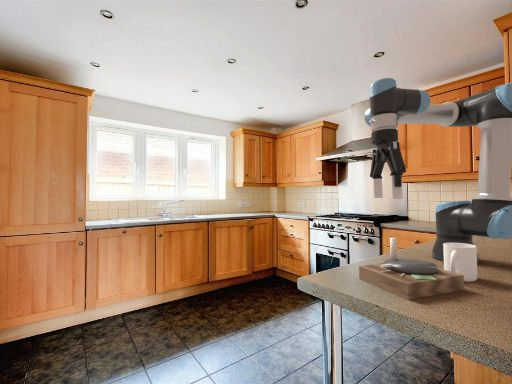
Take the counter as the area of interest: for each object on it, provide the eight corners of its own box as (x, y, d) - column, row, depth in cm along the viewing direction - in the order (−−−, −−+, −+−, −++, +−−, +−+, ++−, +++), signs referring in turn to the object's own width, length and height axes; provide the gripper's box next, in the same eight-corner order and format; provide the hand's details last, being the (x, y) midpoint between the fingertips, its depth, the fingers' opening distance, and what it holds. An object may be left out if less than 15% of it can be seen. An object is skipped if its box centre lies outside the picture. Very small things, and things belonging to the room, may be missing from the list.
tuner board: (408, 272, 90) (407, 259, 90) (466, 290, 72) (465, 274, 72) (359, 278, 83) (359, 265, 83) (409, 300, 66) (409, 283, 66)
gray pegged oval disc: (408, 260, 88) (407, 236, 89) (450, 271, 75) (449, 243, 75) (364, 265, 83) (364, 240, 83) (402, 278, 70) (401, 248, 70)
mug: (469, 286, 75) (468, 250, 75) (435, 279, 81) (435, 246, 81) (480, 278, 82) (479, 245, 82) (449, 272, 89) (448, 241, 89)
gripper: (359, 139, 95) (361, 198, 95) (389, 120, 70) (392, 199, 70) (380, 138, 95) (382, 197, 95) (418, 118, 70) (421, 198, 70)
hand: (386, 198), depth 82 cm, fingers open, 13 cm apart
